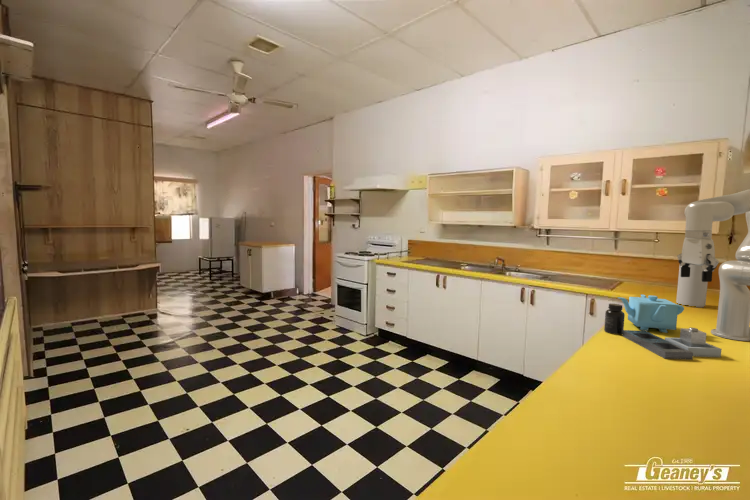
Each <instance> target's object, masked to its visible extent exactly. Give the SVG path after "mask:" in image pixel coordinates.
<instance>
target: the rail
mask: <svg viewBox="0 0 750 500" xmlns="http://www.w3.org/2000/svg"><path fill="white" fill-rule="evenodd" d="M621 336H622V337H623V338H625V339H628V340H629V341H631V342H633V343H634V344H636V345H638V346H640V347H642V348H644V349H646V350H648V351H649V352H652V353H654V354H655V355H656V356H659V357H662V358H663V359H665V360H666V359H667V360H689V361H690V360H691V361H693V358H694V356H693V352H691V351H688V350H686V349H684V348H682V347H680V346H677V345H675V344H673V343H671V342H669V341H666V340H665V338H662V337H660V336H658V335H655V334H653V333H651V332H648V331H643V330H633V329H632V330H631V329H630V330H629V329H627V330H626V329H624V330H622V334H621Z"/></svg>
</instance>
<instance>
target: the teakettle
mask: <svg viewBox="0 0 750 500" xmlns="http://www.w3.org/2000/svg"><path fill="white" fill-rule="evenodd" d="M617 299H619V300H620V301H622V303H623V307H624V309H625V312H626V314H627V320H628V321H629V322H631V323H632V324H633V325H634V326H636V327H640V328H639V331H647V332H648V331H649V328H652V329H658V332H660V333H665V334H667V333H669V332H668V330H675V331H676V330H677V326H678V325H677V324H678V322H677V321H678V316H679V315H680V314H682V313H683V312H684V310H685V307H684V306H683V305H679V304H677V303H675V302H673V301H670V300H668V299H666V298H659V297H658V296H657V295H648V296H647V295H645V294H640V297H639V296H629V299H627V298H625V297H617Z"/></svg>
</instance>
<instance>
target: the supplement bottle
mask: <svg viewBox="0 0 750 500" xmlns="http://www.w3.org/2000/svg"><path fill="white" fill-rule="evenodd" d="M607 308H608V309H607V310H605V315H604V324H603V325H604V326H603V327H604V328H603V330H604V332H605V333H609V334H612V335H622V330H625V329H624V327H625V318H626V317H625V316H626V315H625V313H624V311H623V304H620V303H608V307H607Z"/></svg>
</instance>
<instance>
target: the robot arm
mask: <svg viewBox="0 0 750 500" xmlns="http://www.w3.org/2000/svg"><path fill="white" fill-rule="evenodd" d="M683 213H684V216H685V229H684V230H685V231H684V239H683V243H682V248H681V253H680V254H677V256H676V257H677V260H678V261H677V262H678V263H679V265H680V267H681V277H690V267H689V266H690V265H691V264H693V265H700V266H701V267H702V268H703V270H704V271H702V282H708V283H711V282H713V272H715V269H717V266H718V264H719V263H720V261H719V260H718V259H717V258H716V252H715V251H716V249H715V243H714V239H712V237H713V222H724V221H728V220H730V219H731V218H732V217H733V216H737V215H743V214H745V221H746V225H747V234H746V236H745V237H744V239H743V240H742V242H741V243H740V245H739V246H738V248H737V250H736V251H735V260H727V261H724V262H722V263H721V264H720V265H719V267H718V278H719V299H718V307H717V316H716V326H715V328H713V329H711V330H710V333H711V334H712V335H714V336H716V337H719V338H724V339H729V340H734V341H741V342H742V341H745V342H750V289H749V288H748V287H750V188H749V189H746V190H742V191H739V192H735V193H731V194H725V195H720V196H715V197H710V198H709V197H708V198H702V199H699V200H695V201H692V202H690V203H689V204H687V206H686V207H685V208H684V212H683ZM706 266H708V267H706Z"/></svg>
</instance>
